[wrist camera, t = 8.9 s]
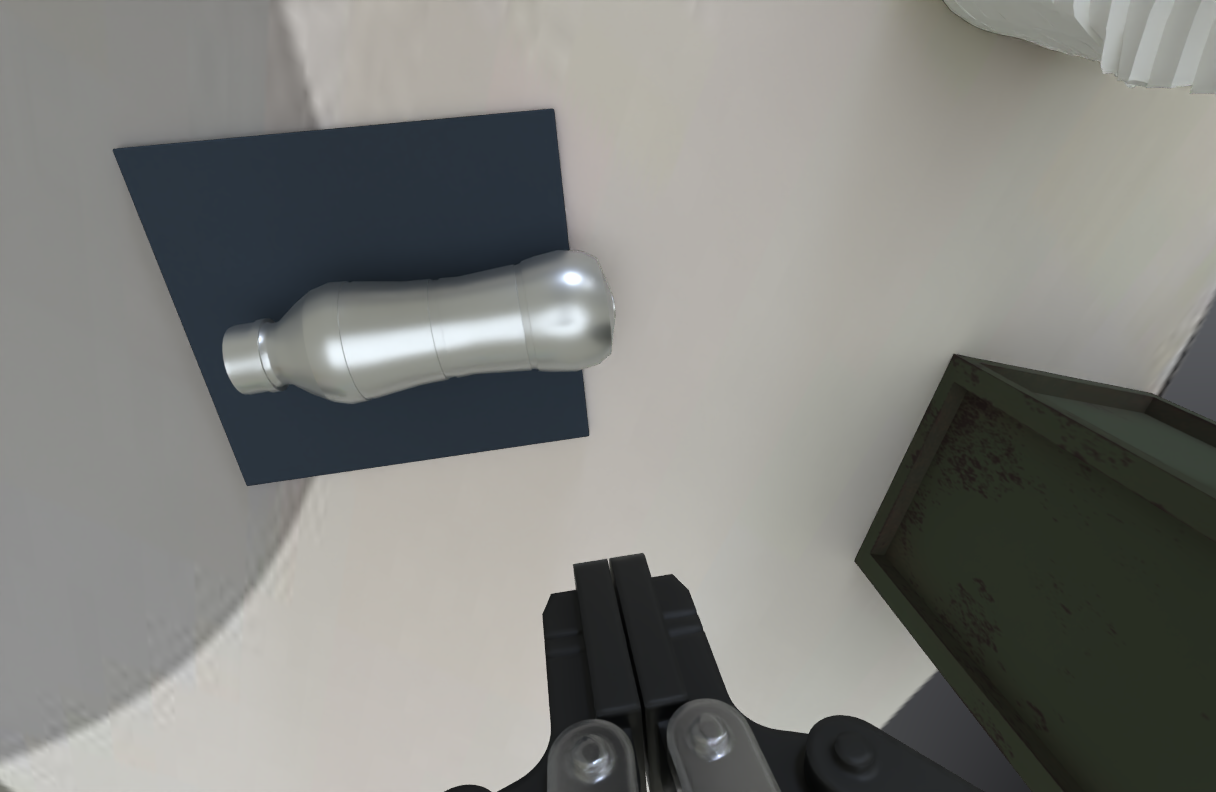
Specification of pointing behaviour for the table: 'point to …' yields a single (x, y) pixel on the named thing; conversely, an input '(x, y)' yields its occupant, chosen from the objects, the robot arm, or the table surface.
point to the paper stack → (1114, 35)
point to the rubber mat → (357, 272)
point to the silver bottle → (429, 330)
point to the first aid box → (1062, 573)
